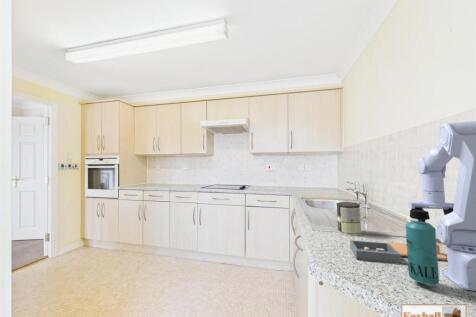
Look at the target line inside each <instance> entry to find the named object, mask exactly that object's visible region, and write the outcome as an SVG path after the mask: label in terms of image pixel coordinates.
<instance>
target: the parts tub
mask: <svg viewBox="0 0 476 317" xmlns="http://www.w3.org/2000/svg"><path fill="white" fill-rule="evenodd" d="M389 243H390V242H378V241H363V240H352V239H349V246H350V249H351V251H352V253H353V255H354V257H355V259H356V260H358V261H369V262H379V263H387V264H389V263H390V264H400V265H402V256H401V254H400V253H398V252H397V251H396V250H395V249H394V248H393V247H392V246H391V245H390V244H389Z"/></svg>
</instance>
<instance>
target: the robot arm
mask: <svg viewBox="0 0 476 317" xmlns="http://www.w3.org/2000/svg"><path fill="white" fill-rule="evenodd" d="M438 140H439V144H438V146H434V147H433V148H431V149H430V150H429V152H428V153H427V154H426V156H425V157H419V158H418V161H417V169H418V172H419V174H420V175H421V185H422V186H421V188H422V199H423V201H422V202H421V201H419V202H417V201H416V202H412V201H411V202H408V208H409V209H410V210H424V211H425V209H426V210H427V209H429V210H431V209H433V210H442V211H443V215H442V216H440V220H439V223H437V225H436V235H437V238H438V240H439V241H440V243H442V244H443V245H444V246H446V254H447V255H446V257H447V259H448V260H447V270H440V273H441V274H443V275H444V276H445V277H447V278H448V279H449V280H450V281H452V282H453V283H454V284H456V285H457V286H458V287H460V288H461V289H463V290H466V291H475V292H476V120H473V121H462V122H451V123H450V122H445V123H443V124H442V125H441V126H440V127H439V130H438ZM453 158H456V159H459V169H458V175H457V181H456V189H455V194H454V201H453V202H454V203H452V202H446V194H445V183H444V182H445V181H444V179H445V178H446V171H447V165H448V163H449V162H451V160H452V159H453ZM417 220H418V221H421V222H426V221H425V220H421V219H417Z"/></svg>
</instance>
